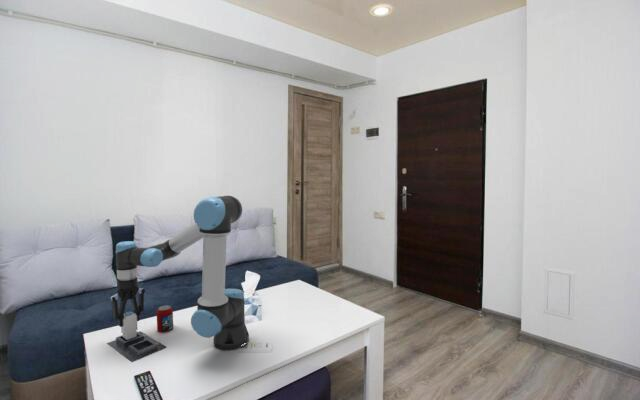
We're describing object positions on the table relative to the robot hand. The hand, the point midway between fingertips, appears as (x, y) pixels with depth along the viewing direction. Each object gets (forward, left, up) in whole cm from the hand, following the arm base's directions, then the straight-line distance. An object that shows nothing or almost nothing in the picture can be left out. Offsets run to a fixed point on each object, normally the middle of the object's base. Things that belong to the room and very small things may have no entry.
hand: (129, 330), depth 143 cm
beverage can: (-2, -15, -6) cm, 16 cm away
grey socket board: (-6, 0, -6) cm, 9 cm away
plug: (0, 0, -3) cm, 3 cm away
